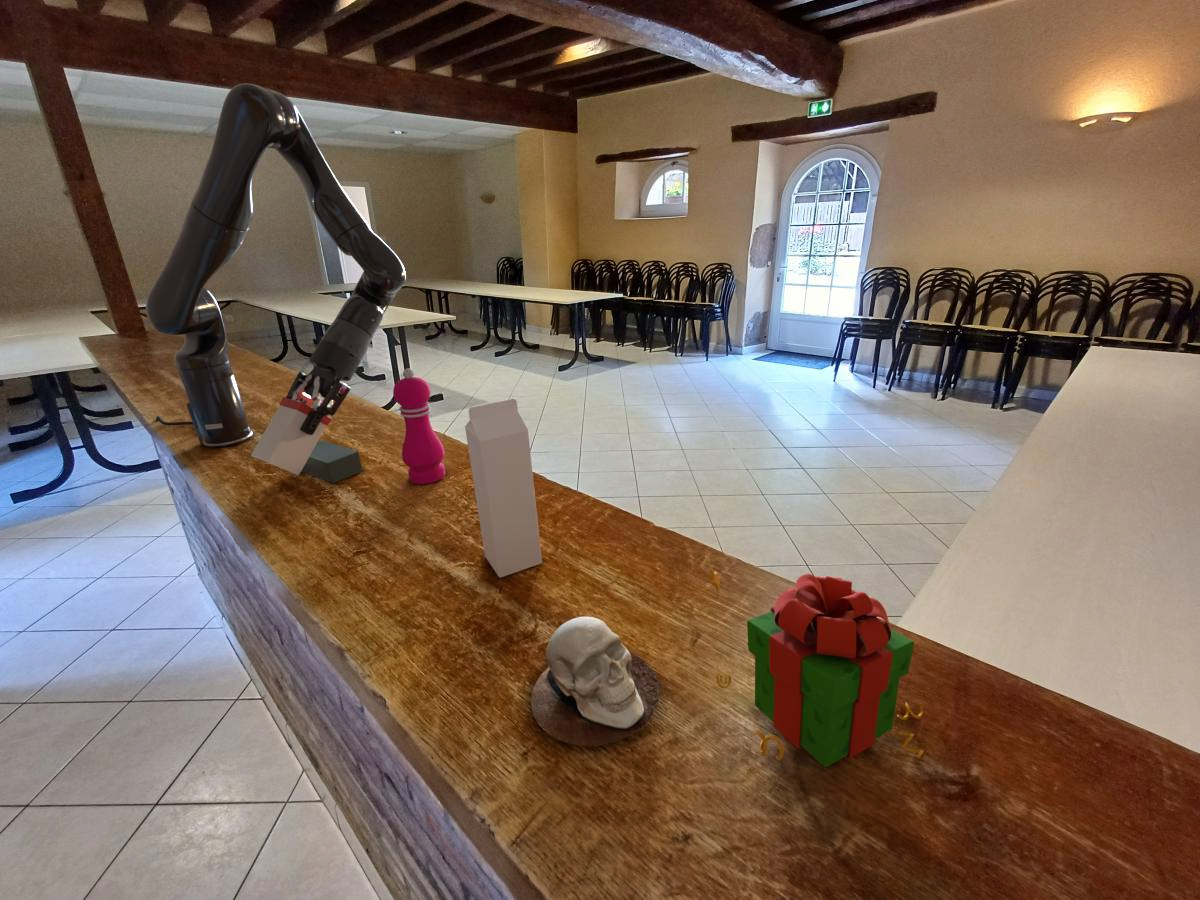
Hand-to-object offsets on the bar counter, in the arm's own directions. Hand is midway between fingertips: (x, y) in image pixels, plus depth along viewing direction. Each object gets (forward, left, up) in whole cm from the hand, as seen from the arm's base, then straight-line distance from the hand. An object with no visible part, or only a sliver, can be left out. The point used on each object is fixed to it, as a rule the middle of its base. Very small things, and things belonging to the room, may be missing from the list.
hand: (295, 429), depth 98 cm
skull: (+61, -43, -10) cm, 75 cm away
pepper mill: (+22, +2, -10) cm, 25 cm away
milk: (+46, -22, -10) cm, 52 cm away
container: (0, -1, -7) cm, 7 cm away
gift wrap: (+79, -44, -10) cm, 91 cm away
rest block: (+2, +4, -10) cm, 10 cm away
